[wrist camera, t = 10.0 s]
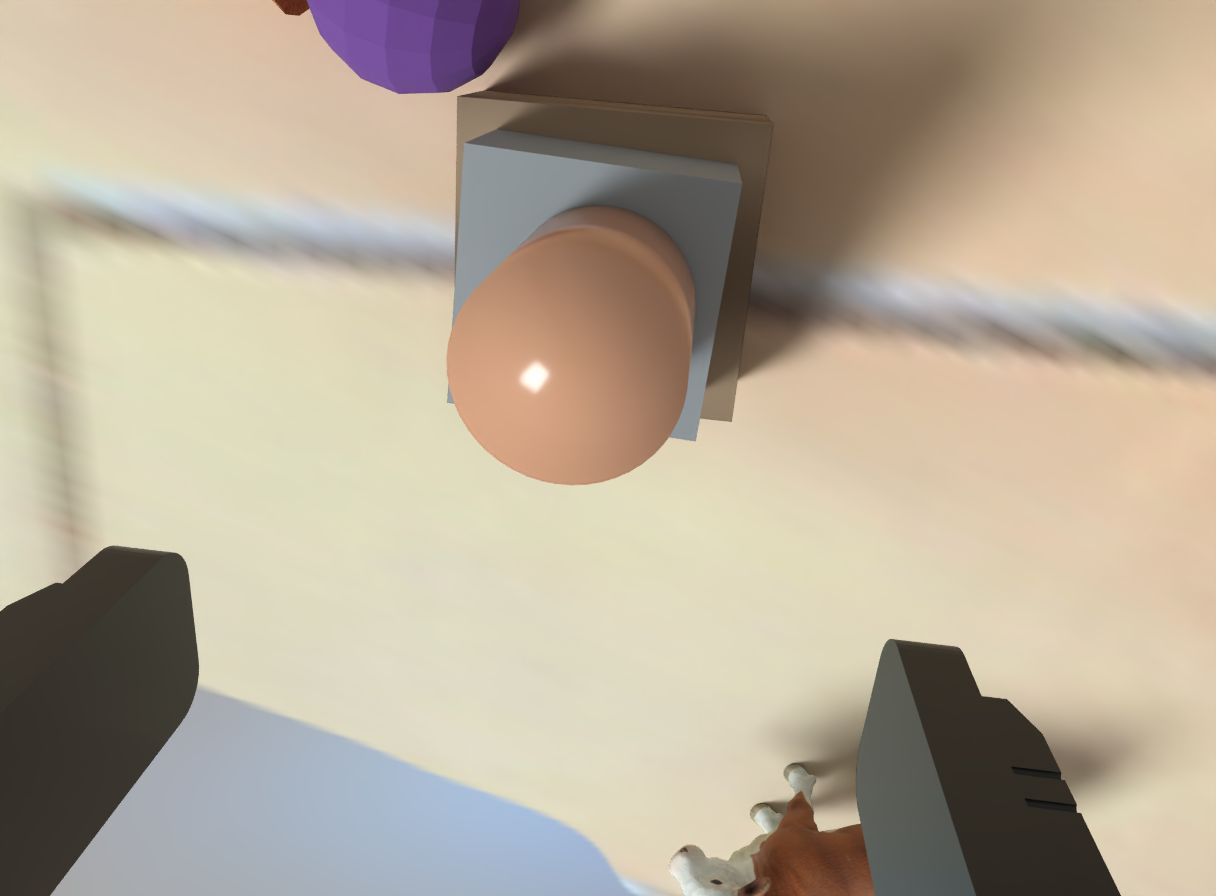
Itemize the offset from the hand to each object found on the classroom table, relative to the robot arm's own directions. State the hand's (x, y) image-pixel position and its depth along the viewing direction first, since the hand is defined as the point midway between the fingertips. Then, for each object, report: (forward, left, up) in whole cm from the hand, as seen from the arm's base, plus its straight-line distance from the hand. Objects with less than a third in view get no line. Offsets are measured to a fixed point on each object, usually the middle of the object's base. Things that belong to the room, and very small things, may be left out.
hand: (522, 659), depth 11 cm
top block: (0, -1, -20) cm, 20 cm away
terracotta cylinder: (0, -1, -15) cm, 15 cm away
